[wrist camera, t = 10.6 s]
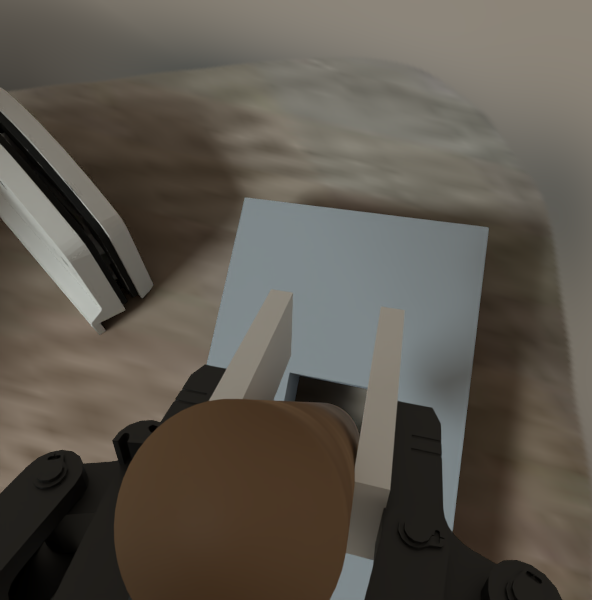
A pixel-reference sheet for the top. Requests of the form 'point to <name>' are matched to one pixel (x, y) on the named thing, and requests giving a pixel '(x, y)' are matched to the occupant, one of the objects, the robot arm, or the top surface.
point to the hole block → (363, 312)
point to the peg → (239, 503)
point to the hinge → (65, 219)
